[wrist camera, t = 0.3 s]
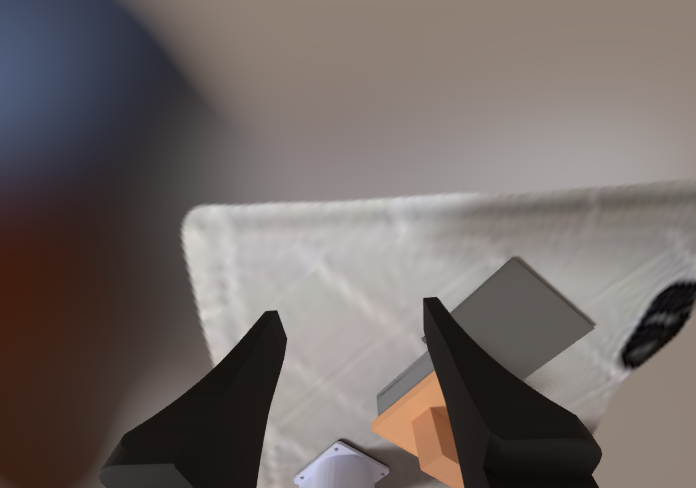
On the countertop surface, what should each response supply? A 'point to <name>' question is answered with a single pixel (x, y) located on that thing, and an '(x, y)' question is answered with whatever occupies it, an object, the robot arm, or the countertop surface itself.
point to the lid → (423, 430)
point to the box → (404, 382)
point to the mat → (519, 320)
